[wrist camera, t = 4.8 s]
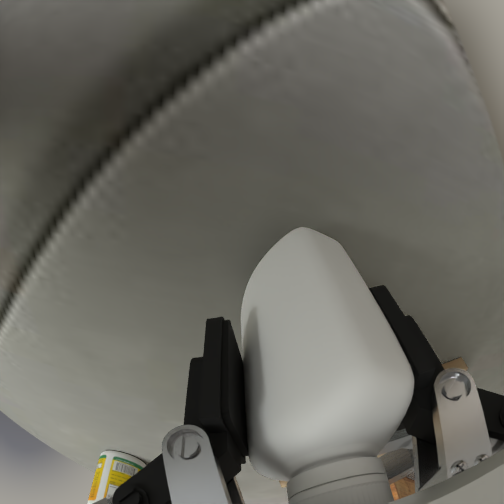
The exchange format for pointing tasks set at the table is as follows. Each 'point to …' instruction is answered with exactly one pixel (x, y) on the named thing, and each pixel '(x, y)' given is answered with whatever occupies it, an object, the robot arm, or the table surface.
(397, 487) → the wooden box
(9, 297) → the table surface
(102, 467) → the supplement bottle
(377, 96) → the table surface
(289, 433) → the eye dropper bottle
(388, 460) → the gray octagonal ring
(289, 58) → the table surface
